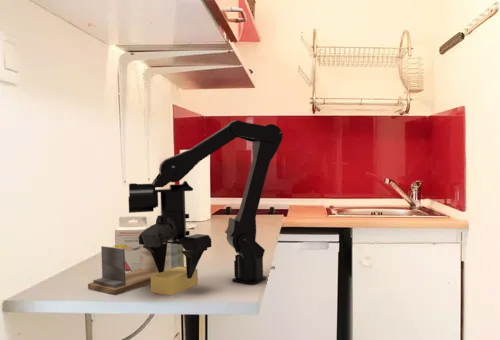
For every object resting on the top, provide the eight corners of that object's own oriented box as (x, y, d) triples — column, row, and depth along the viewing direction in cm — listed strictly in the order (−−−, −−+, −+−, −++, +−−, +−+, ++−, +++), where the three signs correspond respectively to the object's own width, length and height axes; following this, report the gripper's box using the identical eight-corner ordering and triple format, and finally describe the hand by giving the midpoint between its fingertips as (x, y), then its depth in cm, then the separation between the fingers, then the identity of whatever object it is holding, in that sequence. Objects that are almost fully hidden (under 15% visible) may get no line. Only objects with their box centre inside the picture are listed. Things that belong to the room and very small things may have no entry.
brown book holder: (186, 271, 120) (185, 236, 120) (115, 295, 100) (114, 252, 100) (160, 267, 126) (159, 233, 125) (88, 288, 106) (86, 248, 106)
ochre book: (197, 285, 108) (197, 268, 108) (171, 296, 99) (170, 278, 99) (178, 282, 111) (178, 266, 111) (151, 293, 102) (150, 276, 102)
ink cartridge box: (114, 271, 122) (113, 218, 122) (119, 267, 127) (118, 216, 127) (145, 270, 123) (144, 217, 122) (149, 266, 128) (147, 215, 127)
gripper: (119, 212, 103) (121, 278, 103) (178, 216, 93) (180, 290, 93) (154, 207, 112) (156, 268, 113) (212, 210, 102) (213, 277, 102)
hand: (175, 275), depth 105 cm, fingers open, 9 cm apart
